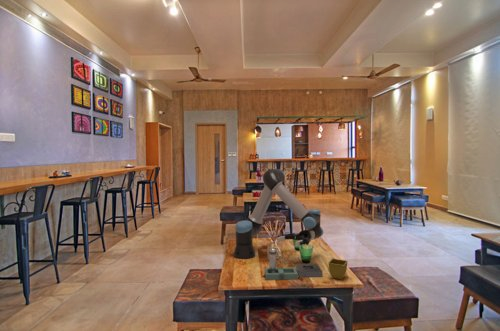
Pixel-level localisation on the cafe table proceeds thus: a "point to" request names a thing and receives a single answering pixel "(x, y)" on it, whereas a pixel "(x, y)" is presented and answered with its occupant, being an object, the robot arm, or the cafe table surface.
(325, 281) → the cafe table surface
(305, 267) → the socket block
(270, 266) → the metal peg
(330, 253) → the cafe table surface
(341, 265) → the flower pot
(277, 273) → the frame
